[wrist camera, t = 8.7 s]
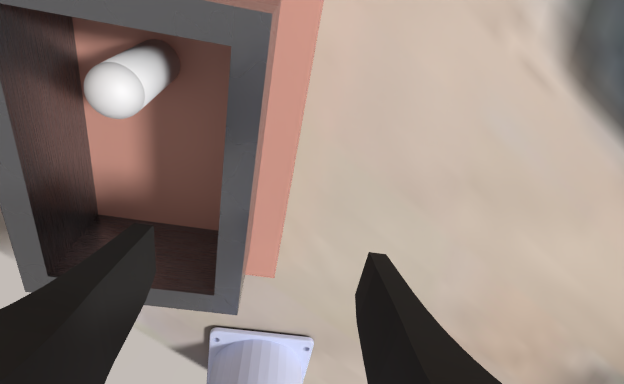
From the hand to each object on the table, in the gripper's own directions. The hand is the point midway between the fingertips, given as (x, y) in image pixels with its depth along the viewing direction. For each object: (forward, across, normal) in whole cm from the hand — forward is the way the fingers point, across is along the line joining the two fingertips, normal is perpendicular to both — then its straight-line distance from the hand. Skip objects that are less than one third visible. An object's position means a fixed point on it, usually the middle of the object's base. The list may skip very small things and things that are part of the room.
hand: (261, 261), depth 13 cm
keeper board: (+10, +6, 0) cm, 11 cm away
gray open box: (+8, +6, 0) cm, 10 cm away
